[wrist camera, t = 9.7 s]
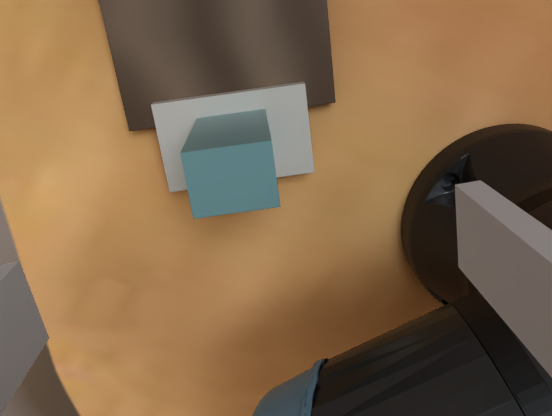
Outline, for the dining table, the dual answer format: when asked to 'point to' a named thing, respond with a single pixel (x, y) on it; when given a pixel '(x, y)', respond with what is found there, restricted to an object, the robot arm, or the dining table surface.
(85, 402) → the dining table surface
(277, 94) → the teal cube on panel
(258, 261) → the dining table surface
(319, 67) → the board
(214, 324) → the dining table surface
